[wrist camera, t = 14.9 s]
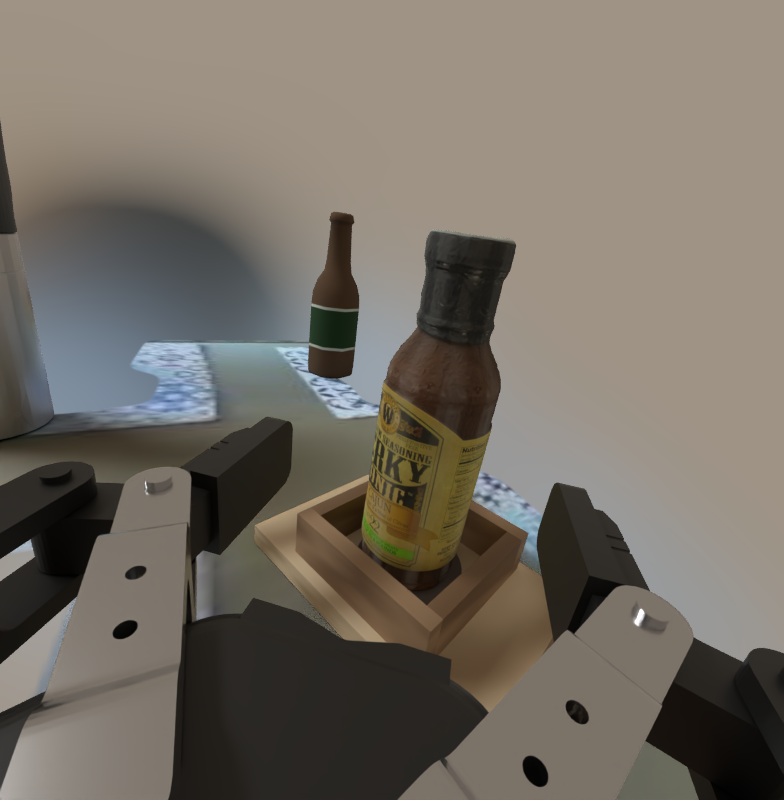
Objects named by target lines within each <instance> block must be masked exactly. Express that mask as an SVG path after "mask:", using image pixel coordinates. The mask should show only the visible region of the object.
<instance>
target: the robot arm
mask: <svg viewBox="0 0 784 800" xmlns="http://www.w3.org/2000/svg"><path fill="white" fill-rule="evenodd" d="M16 232H17V228H16V224H15V219H14V212H13V204H12V193H11V186H10V180H9V174H8V169H7V164H6V159H5V152H4V145H3V138H2V131H1V123H0V440H1V439H6V438H10V437H14V436H17V435H21V434H24V433H27V432H30V431H32V430H35V429H37V428H39V427H41V426H43V425H45V424H46V423H47V422H49V421H50V420H51V419H52V418H53V415H54V411H53V406H52V401H51V396H50V391H49V386H48V381H47V375H46V370H45V365H44V361H43V356H42V351H41V346H40V341H39V336H38V331H37V327H36V322H35V317H34V312H33V307H32V302H31V297H30V292H29V288H28V283H27V278H26V273H25V269H24V264H23V259H22V254H21V250H20V245H19V240H18V235H17V233H16ZM292 433H293V428H292V424H291V422H289V421H285V420H280V419H276V418H271V417H265V418H264V419H262V420H261V421H260V422H258V423H257V424H255V425H254V426H252V427H251V428H245V429H242V430H239V431H236V432H233V433H231V434H230V435H228V436H227V437H225V438H224V439H222V440H221V441H220V442H218V443H216V444H215V445H213V446H212V447H211V449H207V450H206V451H204V452H203V453H201V454H200V455H198V456H197V457H195V458H194V459H192V460H191V461H189V462H188V463H187V464H185V465H184V466H182V467H181V468H177V467H158V468H152V469H148V470H145V471H142V472H140V473H138V474H136V475H134V476H132V477H131V478H130V479H128V480H127V481H126V483H125V484H119V483H96V479H95V473H94V469H93V467H92V466H91V465H89V464H86V463H82V462H61V463H54V464H50V465H46V466H43V467H40V468H37V469H34V470H32V471H30V472H28V473H26V474H24V475H22V476H20V477H18V478H16V479H14V480H12V481H10V482H8V483H6V484H4V485H2V486H0V559H1V558H2V557H4V556H5V555H7V554H9V553H10V552H12V551H13V550H15V549H16V548H18V547H19V546H21V545H22V544H24V543H25V542H27V541H28V540H30V539H31V543H32V547H33V551H34V554H35V557H34V558H33V559H32V560H30V561H29V562H27V563H26V564H24V565H23V566H22V567H20V568H19V569H17V570H16V571H15V572H13V573H12V574H10V575H9V576H7V577H6V578H4V579H3V580H2V581H0V664H1V663H2V662H3V661H4V660H6V659H7V658H8V657H9V656H10V655H11V654H12V653H13V652H15V651H16V650H17V649H18V648H19V647H20V646H21V645H23V644H24V643H25V642H26V641H27V640H28V639H29V638H30V637H32V635H34V634H35V633H36V632H37V631H38V630H40V629H41V628H42V627H43V626H44V625H45V624H46V623H47V622H49V621H50V620H51V619H52V618H53V617H54V616H55V615H56V614H58V613H59V612H60V611H61V610H62V609H63V608H64V607H66V606H67V605H68V604H69V603H70V602H71V601H72V600H74V599H75V598H76V597H77V599H76V602H75V605H74V608H73V611H72V614H71V617H70V620H69V623H68V626H67V629H66V632H65V635H64V638H63V641H62V644H61V647H60V650H59V653H58V656H57V659H56V662H55V665H54V668H53V671H52V674H51V677H50V681H49V684H48V687H47V690H46V691H45V692H43V693H41V694H39V695H37V696H35V697H33V698H30V699H28V700H26V701H24V702H22V703H20V704H18V705H16V706H14V707H12V708H10V709H8V710H5V711H3V712H1V713H0V800H616V798H617V796H618V794H619V792H620V790H621V788H622V786H623V784H624V782H625V780H626V778H627V776H628V774H629V772H630V770H631V768H632V766H633V764H634V762H635V760H636V758H637V756H638V754H639V752H640V750H641V748H642V746H643V744H644V742H645V741H647V742H648V743H650V744H651V745H653V746H655V747H656V748H658V749H659V750H661V751H663V752H664V753H666V754H667V755H669V756H671V757H672V758H674V759H675V760H677V761H679V762H680V763H682V764H684V765H685V766H687V767H688V770H689V773H690V776H691V778H692V781H693V784H694V787H695V790H696V793H697V795H698V798H699V800H784V653H781V652H778V651H775V650H771V649H766V648H757V649H754V650H752V651H751V652H750V653H749V654H748V656H747V658H746V659H745V660H744V662H742V661H739V660H737V659H736V658H733V657H731V656H729V655H727V654H725V653H723V652H721V651H719V650H717V649H715V648H713V647H711V646H709V645H707V644H705V643H703V642H701V641H699V640H697V639H696V638H694V637H693V632H692V629H691V627H690V625H689V623H688V622H687V620H686V619H685V618H684V617H683V615H682V614H681V613H680V612H679V611H678V610H677V609H676V608H675V607H673V606H672V605H671V604H670V603H669V602H667V601H666V600H664V599H663V598H661V597H659V596H658V595H656V594H654V593H652V592H650V590H649V588H648V586H647V584H646V582H645V580H644V578H643V576H642V574H641V572H640V570H639V568H638V566H637V564H636V562H635V560H634V558H633V556H632V554H630V550H629V548H628V546H627V544H626V542H624V538H623V536H622V534H621V532H620V530H619V528H618V526H617V525H616V524H615V523H614V522H613V521H612V520H611V519H610V518H609V517H608V516H607V515H606V514H605V513H604V512H603V511H600V510H596V509H594V507H593V505H592V503H591V501H590V498H589V496H588V494H587V492H586V490H585V489H583V488H579V487H574V486H570V485H565V484H561V483H555V484H554V486H553V488H552V490H551V493H550V496H549V499H548V502H547V505H546V508H545V512H544V514H543V517H542V521H541V524H540V527H539V530H538V536H537V552H538V557H539V563H540V568H541V574H542V579H543V585H544V591H545V596H546V602H547V607H548V613H549V618H550V624H551V629H552V635H553V641H554V643H553V644H552V645H551V647H550V648H549V649H548V650H547V651H546V652H545V653H544V654H543V655H542V656H541V657H540V658H539V659H538V661H537V662H536V663H535V664H534V665H533V666H532V667H531V668H530V669H529V670H528V671H527V672H526V674H525V675H524V676H523V677H522V678H521V679H520V680H519V681H518V682H517V683H516V684H515V685H514V686H513V688H512V689H511V690H510V691H509V692H508V693H507V694H506V695H505V696H504V697H503V698H502V699H501V700H500V702H499V703H498V704H497V705H496V706H495V707H494V708H493V709H492V710H491V711H490V712H488V711H487V710H486V708H485V707H484V706H483V705H482V704H481V703H480V702H479V701H478V700H477V699H476V698H475V697H474V696H473V695H472V694H471V693H469V692H468V691H467V690H465V689H464V688H463V687H462V686H460V685H459V684H457V683H456V682H454V681H453V680H451V679H450V672H451V660H452V659H449V658H445V657H442V656H439V655H436V654H432V653H429V652H426V651H423V650H420V649H416V648H413V647H410V646H407V645H403V644H400V643H386V642H368V641H351V640H344V639H341V638H340V637H338V636H336V635H335V634H333V633H331V632H330V631H328V630H327V629H325V628H323V627H322V626H320V625H319V624H317V623H316V622H314V621H312V620H311V619H309V618H308V617H306V616H304V615H303V614H301V613H300V612H297V611H294V610H291V609H287V608H284V607H281V606H278V605H275V604H271V603H268V602H265V601H262V600H258V599H255V598H253V599H252V601H251V602H250V604H249V605H248V606H247V608H246V609H245V611H244V612H243V614H224V615H218V616H211V617H208V618H204V619H200V620H197V621H196V596H197V560H196V557H197V556H198V555H199V554H200V553H201V552H202V551H203V550H204V551H208V552H211V553H215V554H218V555H221V553H222V552H223V551H224V550H225V549H226V548H227V547H228V546H229V545H230V544H231V542H232V541H233V540H234V539H235V538H236V537H237V536H238V535H239V534H240V532H241V531H242V530H243V529H244V528H245V527H246V526H247V525H248V524H249V523H250V521H251V520H252V519H253V518H254V517H255V516H256V515H257V514H258V513H259V512H260V510H261V509H262V508H263V507H264V506H265V505H266V504H267V503H268V502H269V501H270V499H271V498H272V497H273V496H274V495H275V494H276V493H277V492H278V491H279V489H280V488H281V487H282V486H283V485H284V484H285V482H286V481H287V478H288V476H289V473H290V469H291V456H292Z"/></svg>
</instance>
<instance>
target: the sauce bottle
mask: <svg viewBox="0 0 784 800" xmlns="http://www.w3.org/2000/svg"><path fill="white" fill-rule="evenodd" d="M515 248H516V244H515V242H514V241H513V240H511V239H508V238H492V237H484V236H477V235H470V234H464V233H458V232H450V231H442V230H432V231H431V232H430V234H429V235H428V238H427V241H426V250H425V262H426V276H425V281H424V285H423V289H422V293H421V296H422V297H421V305H420V309H419V311H418V313H417V325H418V327H417V329H416V330H415V331H414V332H413V334H412V335H411V336H410V337H409V338H408V339H407V340H406V342H405V343H403V344H402V345H401V347H400V348H399V350H398V351H397V352H396V354H395V355H394V357H393V359H392V360H391V362H390V365H389V367H388V372H387V377H386V379H385V380H384V382H383V388H382V394H381V402H380V406H379V413H378V421H377V428H376V434H375V441H374V449H373V453H372V454H373V456H372V461H371V468H370V474H369V483H368V489H367V495H366V501H365V507H364V514H363V521H362V536H363V540H362V550H363V552H364V553H365V554H367V555H368V556H369V557H370V558H371V559H372V560H374V561H375V562H376V563H377V564H378V565H380V566H381V567H382V568H383V569H384V570H385V571H387V572H388V573H389V574H390V575H391V576H393V577H394V578H395V579H396V580H397V581H398V582H400V583H401V584H402V585H403V586H404V587H406V588H407V589H408V590H412V591H415V590H419V591H423V590H428V589H431V588H433V587H435V586H436V585H437V584H438V583H440V582H441V581H442V580H443V579H444V577H445V576H446V575H447V573H448V571H449V569H450V568H451V566H452V561H453V558H454V556H455V554H456V552H457V549H458V546H459V542H460V539H461V535H462V531H463V528H464V525H465V521H466V517H467V514H468V510H469V506H470V503H471V499H472V496H473V492H474V489H475V485H476V482H477V478H478V475H479V471H480V468H481V464H482V460H483V457H484V454H485V450H486V446H487V442H488V439H489V436H490V432H491V428H492V423H491V421H492V417H493V414H494V411H495V407H496V403H497V400H498V396H499V393H500V389H501V382H500V381H501V379H500V374H499V370H498V368H497V364H496V362H495V359H494V356H493V354H492V351H491V347H490V344H489V341H490V336H491V333H492V331H493V329H494V316H495V313H496V308H497V305H498V301H499V297H500V293H501V289H502V284H503V281H504V280H505V278H506V277H507V275H508V273H509V272H510V269H511V265H512V262H513V258H514V254H515Z"/></svg>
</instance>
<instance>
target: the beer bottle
mask: <svg viewBox="0 0 784 800" xmlns="http://www.w3.org/2000/svg"><path fill="white" fill-rule="evenodd" d="M330 221H331V230H330V238H329V246H328V255H327V261H326V265H325V269H324V271H323V272H322V274H321V275H320V276H319V278H318V279H317V282H316V284H315V287H314V290H313V296H312V304H311V322H310V323H311V324H310V340H309V358H308V370H309V372H310V373H313V374H315V375H318V376H320V377H329V378H342V377H346V376H350V375H351V374H352V368H353V361H354V352H355V342H356V331H357V321H358V311H359V294H358V289H357V285H356V283H355V281H354V278H353V276H352V274H351V263H350V262H351V233H352V224H353V223H354V218H353V216H352V215H351V214H346V213H340V212H333V213H331V216H330Z"/></svg>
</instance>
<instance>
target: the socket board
mask: <svg viewBox="0 0 784 800" xmlns="http://www.w3.org/2000/svg"><path fill="white" fill-rule="evenodd" d="M368 483H369V474H368V475H366V476H364V477H362V478H359V479H357V480H355V481H353V482H351V483H348V484H346V485H344V486H342V487H339V488H337V489H335V490H333V491H330V492H328V493H326V494H324V495H321V496H319V497H317V498H315V499H312V500H310V501H308V502H306V503H303V504H301V505H299V506H297V507H294V508H292V509H290V510H288V511H285V512H283V513H281V514H279V515H277V516H274V517H272V518H270V519H268V520H265V521H263V522H261V523H259V524H256V525H255V543H256V544H257V545H258V546H259V548H260V549H261V550H262V551H263V552H264V553H265V554H266V555H267V556H268V557H269V558H270V560H271V561H272V562H273V563H274V564H275V565H276V566H277V567H278V568H279V569H280V570H281V572H282V573H283V574H284V575H285V576H286V577H287V578H288V579H289V580H290V581H291V583H292V584H293V585H294V586H295V587H296V588H297V589H298V590H299V591H300V592H301V593H302V595H303V596H304V597H305V598H306V599H307V600H308V601H309V602H310V603H311V604H312V605H313V607H314V608H315V609H316V610H317V611H318V612H319V613H320V614H321V615H322V616H323V617H324V619H325V620H326V621H327V622H328V623H329V624H330V625H331V626H332V627H333V628H334V630H335V631H336V632H337V633H338V634H339V635H340V636H341V637H342V638H343V639H344V640H351V641H368V642H386V643H400V644H403V645H407V646H410V647H413V648H416V649H420V650H423V651H426V652H429V653H432V654H436V655H439V656H442V657H445V658H449V659H452V660H451V672H450V679H451V680H453V681H454V682H456V683H457V684H459V685H460V686H462V687H463V688H464V689H465V690H467V691H468V692H469V693H471V694H472V695H473V696H474V697H475V698H476V699H477V700H478V701H479V702H480V703H481V704H482V705H483V706H484V707H485V708H486V710H487V711H488V712H490V711H491V710H492V709H493V708H494V707H495V706H496V705H497V704H498V703H499V702H500V700H501V699H502V698H503V697H504V696H505V695H506V694H507V693H508V692H509V691H510V690H511V689H512V688H513V686H514V685H515V684H516V683H517V682H518V681H519V680H520V679H521V678H522V677H523V676H524V675H525V674H526V672H527V671H528V670H529V669H530V668H531V667H532V666H533V665H534V664H535V663H536V662H537V661H538V659H539V658H540V657H541V656H542V655H543V654H544V653H545V652H546V651H547V650H548V649H549V648H550V647H551V645H552V644H553V642H554V641H553V635H552V629H551V624H550V618H549V613H548V607H547V602H546V596H545V591H544V585H543V579H542V576H541V575H539V574H538V573H536V572H535V571H533V570H531V569H530V568H528V567H527V566H525V565H524V564H522V563H520V562H519V561H520V558H521V555H522V552H523V549H524V545H525V542H526V539H527V536H528V533H527V532H525V531H524V530H522V529H520V528H518V527H517V526H515V525H513V524H512V523H510V522H508V521H506V520H505V519H503V518H501V517H500V516H498V515H496V514H494V513H493V512H491V511H489V510H488V509H486V508H484V507H482V506H481V505H479V504H477V503H476V502H474V501H472V500H471V503H470V506H469V510H468V514H467V517H466V521H465V525H464V528H463V531H462V535H461V539H460V542H459V546H458V549H457V552H456V554H455V556H454V558H453V561H452V566H451V568H450V569H449V571H448V573H447V575H446V576H445V577H444V579H443V580H442V581H441V582H440V583H438V584H437V585H436V586H435V587H433V588H431V589H428V590H423V591H419V590H415V591H412V590H408V589H407V588H406V587H404V586H403V585H402V584H401V583H400V582H398V581H397V580H396V579H395V578H394V577H393V576H391V575H390V574H389V573H388V572H387V571H385V570H384V569H383V568H382V567H381V566H380V565H378V564H377V563H376V562H375V561H374V560H372V559H371V558H370V557H369V556H368V555H367V554H365V553H364V552H363V550H362V540H363V536H362V521H363V514H364V507H365V501H366V495H367V489H368Z"/></svg>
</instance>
